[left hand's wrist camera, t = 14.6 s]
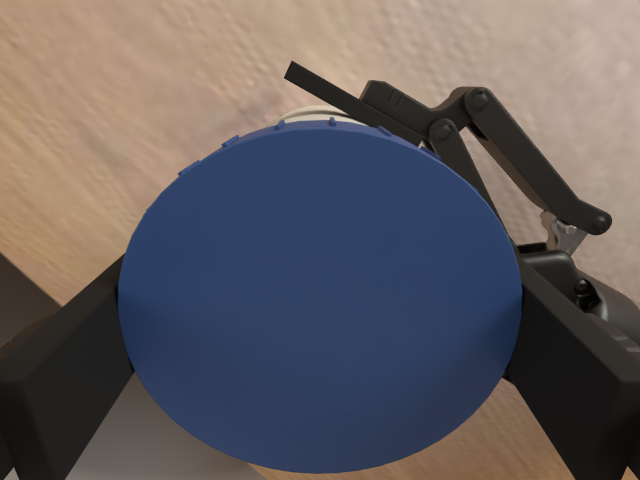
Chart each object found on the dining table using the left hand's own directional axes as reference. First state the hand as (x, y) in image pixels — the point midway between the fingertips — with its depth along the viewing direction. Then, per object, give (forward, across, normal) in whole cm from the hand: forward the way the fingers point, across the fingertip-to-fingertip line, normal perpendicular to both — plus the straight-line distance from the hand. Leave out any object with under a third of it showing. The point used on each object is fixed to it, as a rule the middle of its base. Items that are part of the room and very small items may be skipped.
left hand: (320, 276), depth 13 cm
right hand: (+7, -4, +2) cm, 8 cm away
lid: (-3, 0, 0) cm, 3 cm away
